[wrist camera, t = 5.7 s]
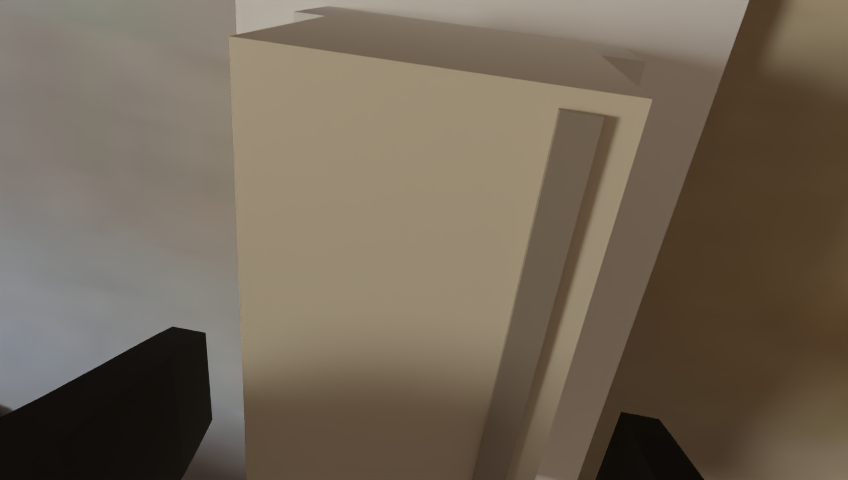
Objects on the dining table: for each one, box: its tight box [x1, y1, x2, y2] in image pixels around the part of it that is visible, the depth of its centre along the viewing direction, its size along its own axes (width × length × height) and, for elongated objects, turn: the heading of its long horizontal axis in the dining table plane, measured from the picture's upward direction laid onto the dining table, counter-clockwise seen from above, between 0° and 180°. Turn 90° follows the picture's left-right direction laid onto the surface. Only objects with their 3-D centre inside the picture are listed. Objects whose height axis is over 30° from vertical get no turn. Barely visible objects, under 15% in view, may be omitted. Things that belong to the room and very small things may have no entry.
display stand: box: [235, 0, 749, 480], centre depth 13 cm, size 15×10×3 cm, turn 173°
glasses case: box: [229, 11, 653, 480], centre depth 10 cm, size 12×4×5 cm, turn 173°
